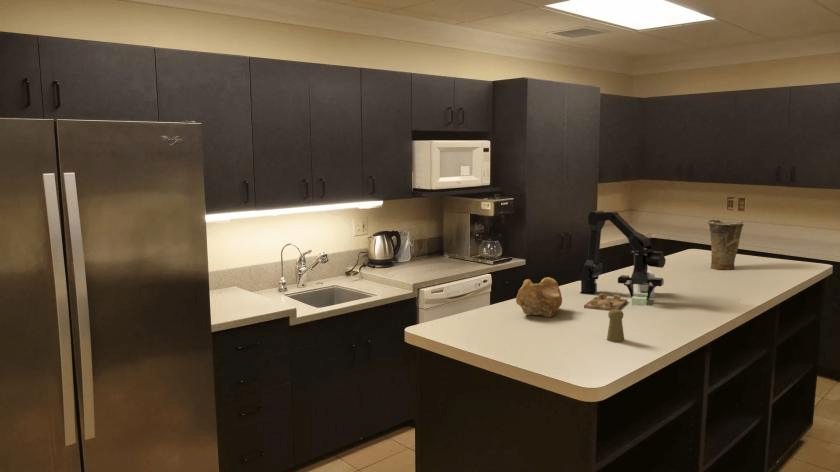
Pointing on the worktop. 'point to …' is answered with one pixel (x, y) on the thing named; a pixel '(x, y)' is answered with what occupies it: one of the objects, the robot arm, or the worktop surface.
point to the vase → (724, 243)
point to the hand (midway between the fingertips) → (640, 299)
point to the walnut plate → (606, 302)
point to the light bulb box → (646, 285)
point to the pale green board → (639, 299)
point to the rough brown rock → (540, 297)
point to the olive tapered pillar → (615, 326)
